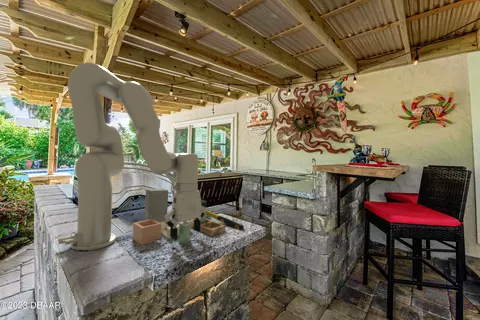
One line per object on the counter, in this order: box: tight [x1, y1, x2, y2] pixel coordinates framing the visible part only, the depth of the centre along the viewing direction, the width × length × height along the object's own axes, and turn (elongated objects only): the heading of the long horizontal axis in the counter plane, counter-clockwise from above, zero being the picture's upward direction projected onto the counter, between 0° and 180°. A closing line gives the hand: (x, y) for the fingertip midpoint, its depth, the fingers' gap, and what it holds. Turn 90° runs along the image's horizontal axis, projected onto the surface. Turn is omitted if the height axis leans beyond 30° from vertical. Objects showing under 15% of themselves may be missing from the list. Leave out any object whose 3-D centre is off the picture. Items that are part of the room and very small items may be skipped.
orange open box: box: [132, 219, 162, 246], centre depth 75 cm, size 7×7×6 cm
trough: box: [188, 218, 227, 237], centre depth 87 cm, size 8×15×3 cm, turn 50°
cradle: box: [159, 217, 192, 239], centre depth 81 cm, size 10×9×5 cm
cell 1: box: [178, 220, 192, 244], centre depth 73 cm, size 4×4×8 cm
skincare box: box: [143, 188, 169, 222], centre depth 91 cm, size 8×7×16 cm
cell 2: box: [200, 209, 207, 224], centre depth 89 cm, size 4×4×8 cm
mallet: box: [201, 199, 245, 231], centre depth 95 cm, size 29×6×10 cm, turn 57°
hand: (186, 234), depth 73 cm, fingers open, 9 cm apart
